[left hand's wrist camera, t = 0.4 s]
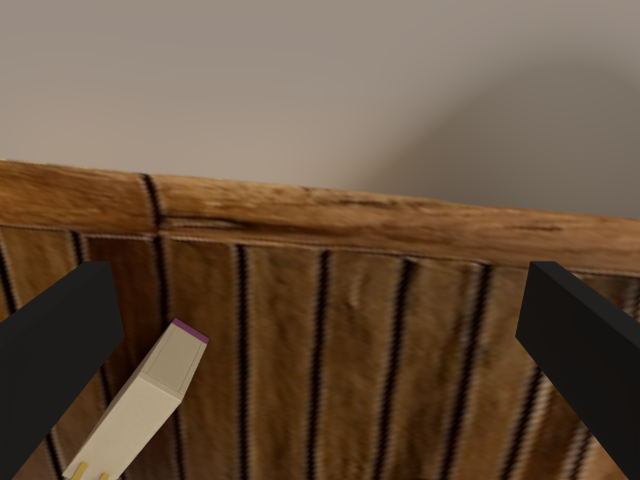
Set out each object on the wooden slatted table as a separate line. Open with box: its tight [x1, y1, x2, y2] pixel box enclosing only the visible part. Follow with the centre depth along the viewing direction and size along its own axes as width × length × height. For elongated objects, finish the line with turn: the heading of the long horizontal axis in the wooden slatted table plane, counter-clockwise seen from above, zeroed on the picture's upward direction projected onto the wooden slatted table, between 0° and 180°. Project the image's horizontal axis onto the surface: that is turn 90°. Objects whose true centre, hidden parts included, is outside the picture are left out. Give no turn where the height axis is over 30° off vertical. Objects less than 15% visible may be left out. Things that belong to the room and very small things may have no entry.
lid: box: [62, 371, 184, 480], centre depth 34 cm, size 15×4×9 cm, turn 142°
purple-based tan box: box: [73, 318, 209, 459], centre depth 42 cm, size 14×5×9 cm, turn 142°
